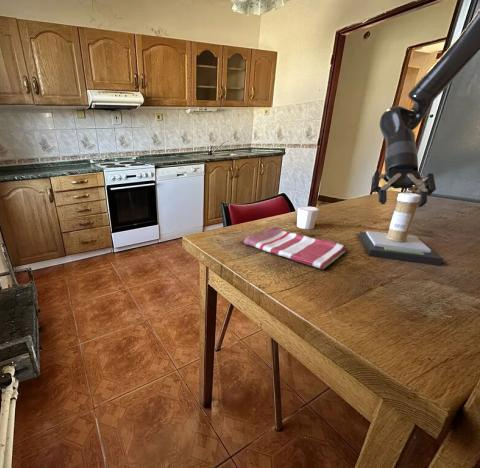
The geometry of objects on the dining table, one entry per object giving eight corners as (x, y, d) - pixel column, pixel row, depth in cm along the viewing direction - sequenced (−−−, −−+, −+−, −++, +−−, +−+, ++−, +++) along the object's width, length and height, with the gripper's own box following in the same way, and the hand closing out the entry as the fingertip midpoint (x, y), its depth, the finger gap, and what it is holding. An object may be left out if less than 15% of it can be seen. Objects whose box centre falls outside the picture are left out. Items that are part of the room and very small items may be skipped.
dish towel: (270, 232, 91) (271, 224, 90) (345, 252, 74) (348, 243, 73) (242, 245, 81) (243, 237, 80) (322, 272, 64) (324, 262, 63)
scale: (418, 244, 78) (421, 235, 77) (440, 265, 65) (444, 256, 64) (358, 237, 84) (360, 229, 83) (368, 256, 72) (371, 246, 71)
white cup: (320, 228, 93) (324, 209, 90) (304, 230, 91) (308, 211, 89) (305, 222, 99) (308, 205, 97) (291, 224, 97) (293, 207, 95)
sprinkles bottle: (409, 240, 74) (424, 194, 69) (400, 243, 72) (415, 196, 67) (391, 235, 78) (404, 191, 73) (382, 238, 76) (395, 193, 71)
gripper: (376, 151, 79) (376, 195, 74) (438, 151, 74) (442, 199, 68) (368, 166, 86) (367, 208, 80) (424, 167, 80) (427, 213, 74)
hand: (402, 204), depth 74 cm, fingers open, 8 cm apart
